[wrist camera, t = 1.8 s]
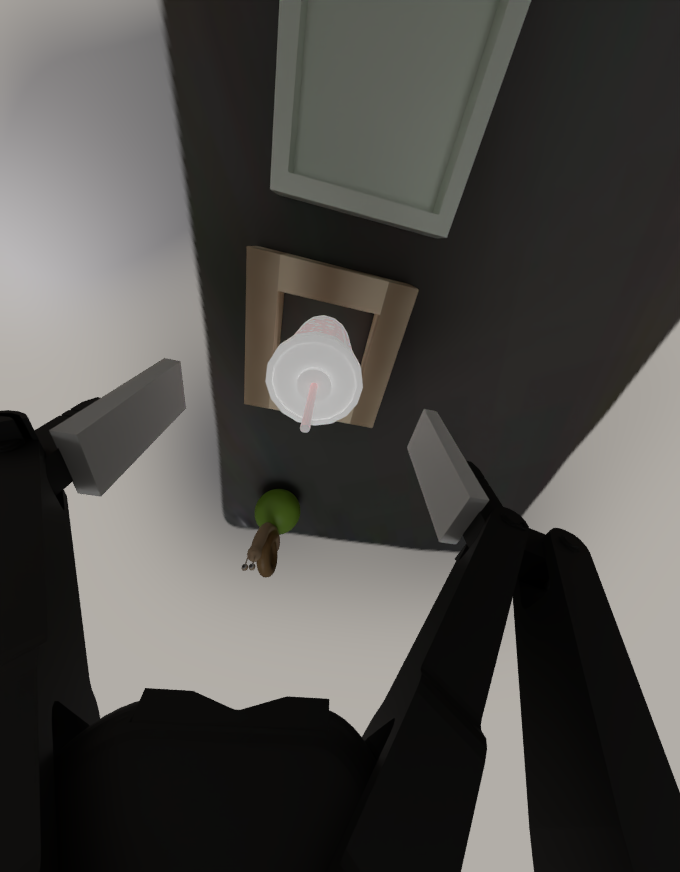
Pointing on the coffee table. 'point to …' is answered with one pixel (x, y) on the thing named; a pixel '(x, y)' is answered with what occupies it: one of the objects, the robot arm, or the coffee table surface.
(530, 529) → the robot arm
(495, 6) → the tray
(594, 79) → the coffee table surface
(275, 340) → the socket holder
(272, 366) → the beverage cup
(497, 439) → the coffee table surface
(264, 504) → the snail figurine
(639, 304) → the coffee table surface
